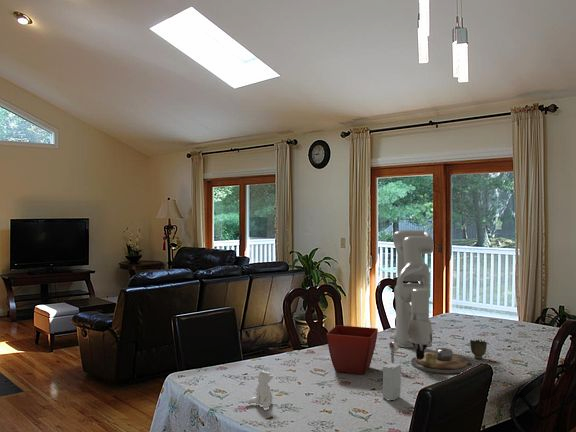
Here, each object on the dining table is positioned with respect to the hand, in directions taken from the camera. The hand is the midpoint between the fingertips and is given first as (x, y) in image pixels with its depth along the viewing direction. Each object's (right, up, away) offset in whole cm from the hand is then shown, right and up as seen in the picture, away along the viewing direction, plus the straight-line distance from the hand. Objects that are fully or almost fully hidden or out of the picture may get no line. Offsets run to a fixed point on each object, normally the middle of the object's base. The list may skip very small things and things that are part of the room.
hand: (420, 358), depth 228 cm
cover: (+11, -1, +3) cm, 12 cm away
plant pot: (-30, -5, -2) cm, 30 cm away
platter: (+10, -3, +4) cm, 11 cm away
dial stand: (-12, -4, 0) cm, 13 cm away
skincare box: (-20, -5, -37) cm, 42 cm away
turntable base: (+10, -4, +4) cm, 12 cm away
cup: (+31, -4, +15) cm, 35 cm away
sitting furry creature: (-67, -5, -43) cm, 80 cm away
